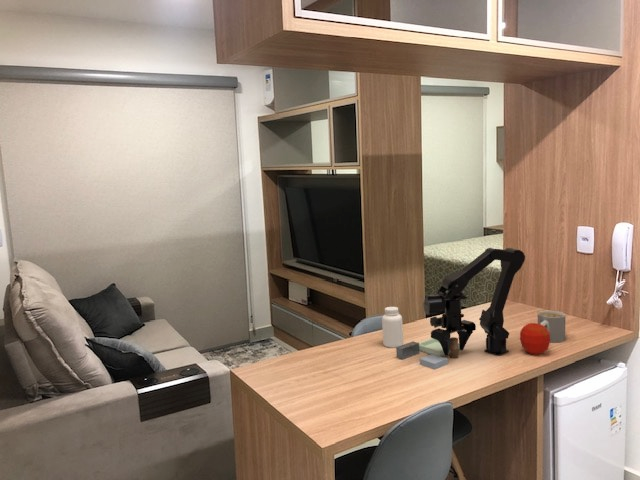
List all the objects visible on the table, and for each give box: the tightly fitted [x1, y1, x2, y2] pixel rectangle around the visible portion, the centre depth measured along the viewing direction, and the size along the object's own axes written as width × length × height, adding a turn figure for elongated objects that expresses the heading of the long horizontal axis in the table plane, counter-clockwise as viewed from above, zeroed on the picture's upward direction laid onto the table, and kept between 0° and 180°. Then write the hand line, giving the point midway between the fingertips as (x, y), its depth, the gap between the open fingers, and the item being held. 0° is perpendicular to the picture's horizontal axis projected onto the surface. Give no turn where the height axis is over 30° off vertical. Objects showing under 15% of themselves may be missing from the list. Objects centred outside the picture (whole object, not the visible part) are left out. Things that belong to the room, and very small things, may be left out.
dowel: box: [449, 337, 459, 360], centre depth 194 cm, size 3×3×7 cm
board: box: [418, 354, 449, 370], centre depth 188 cm, size 7×7×2 cm
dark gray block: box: [395, 340, 420, 360], centre depth 198 cm, size 3×9×4 cm, turn 127°
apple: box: [519, 322, 551, 356], centre depth 194 cm, size 10×10×12 cm
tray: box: [418, 337, 461, 357], centre depth 203 cm, size 12×12×2 cm
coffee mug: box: [537, 310, 566, 344], centre depth 206 cm, size 13×10×10 cm
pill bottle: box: [381, 306, 404, 349], centre depth 210 cm, size 8×8×15 cm
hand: (454, 352), depth 194 cm, fingers open, 8 cm apart
